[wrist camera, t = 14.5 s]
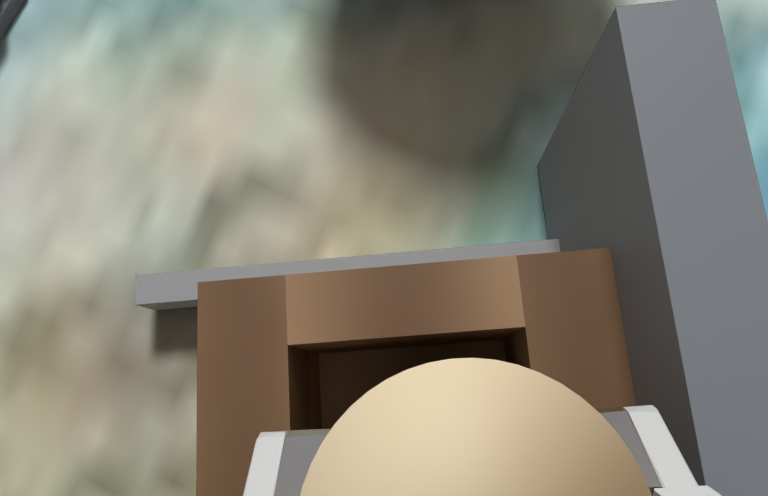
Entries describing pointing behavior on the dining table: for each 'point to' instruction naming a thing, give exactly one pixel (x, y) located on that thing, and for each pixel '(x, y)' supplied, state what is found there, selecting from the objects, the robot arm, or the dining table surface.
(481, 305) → the socket block
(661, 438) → the robot arm
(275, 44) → the dining table surface
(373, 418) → the dowel
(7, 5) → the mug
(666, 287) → the backstop
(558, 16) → the dining table surface
